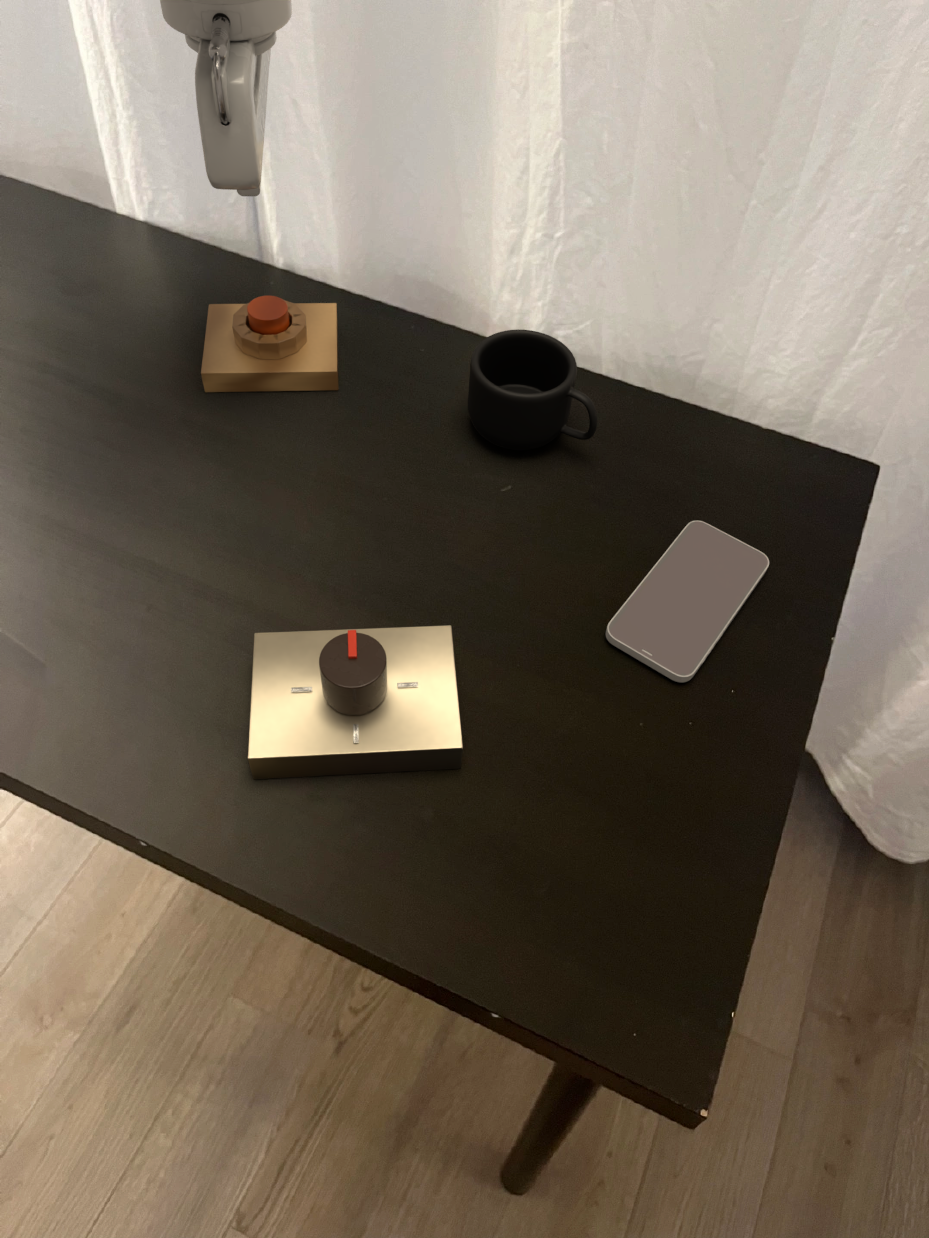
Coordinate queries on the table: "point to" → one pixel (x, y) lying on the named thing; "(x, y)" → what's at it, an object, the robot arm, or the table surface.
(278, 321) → the red button
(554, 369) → the mug
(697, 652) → the smartphone
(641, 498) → the table surface
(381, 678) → the dial knob
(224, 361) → the button block
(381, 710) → the dial panel
